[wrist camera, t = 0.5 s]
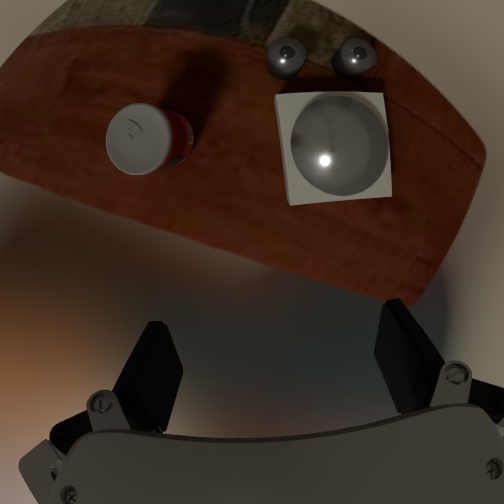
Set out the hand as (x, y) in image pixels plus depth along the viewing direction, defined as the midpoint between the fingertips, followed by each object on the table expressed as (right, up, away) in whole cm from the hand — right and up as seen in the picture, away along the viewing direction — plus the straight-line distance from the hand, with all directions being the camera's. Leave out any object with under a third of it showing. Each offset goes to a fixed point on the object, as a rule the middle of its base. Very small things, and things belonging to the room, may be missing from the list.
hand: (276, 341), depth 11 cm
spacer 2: (+12, +30, +18) cm, 37 cm away
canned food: (-13, +19, +23) cm, 33 cm away
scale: (+10, +18, +23) cm, 31 cm away
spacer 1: (+3, +29, +19) cm, 35 cm away
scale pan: (+10, +17, +19) cm, 27 cm away
